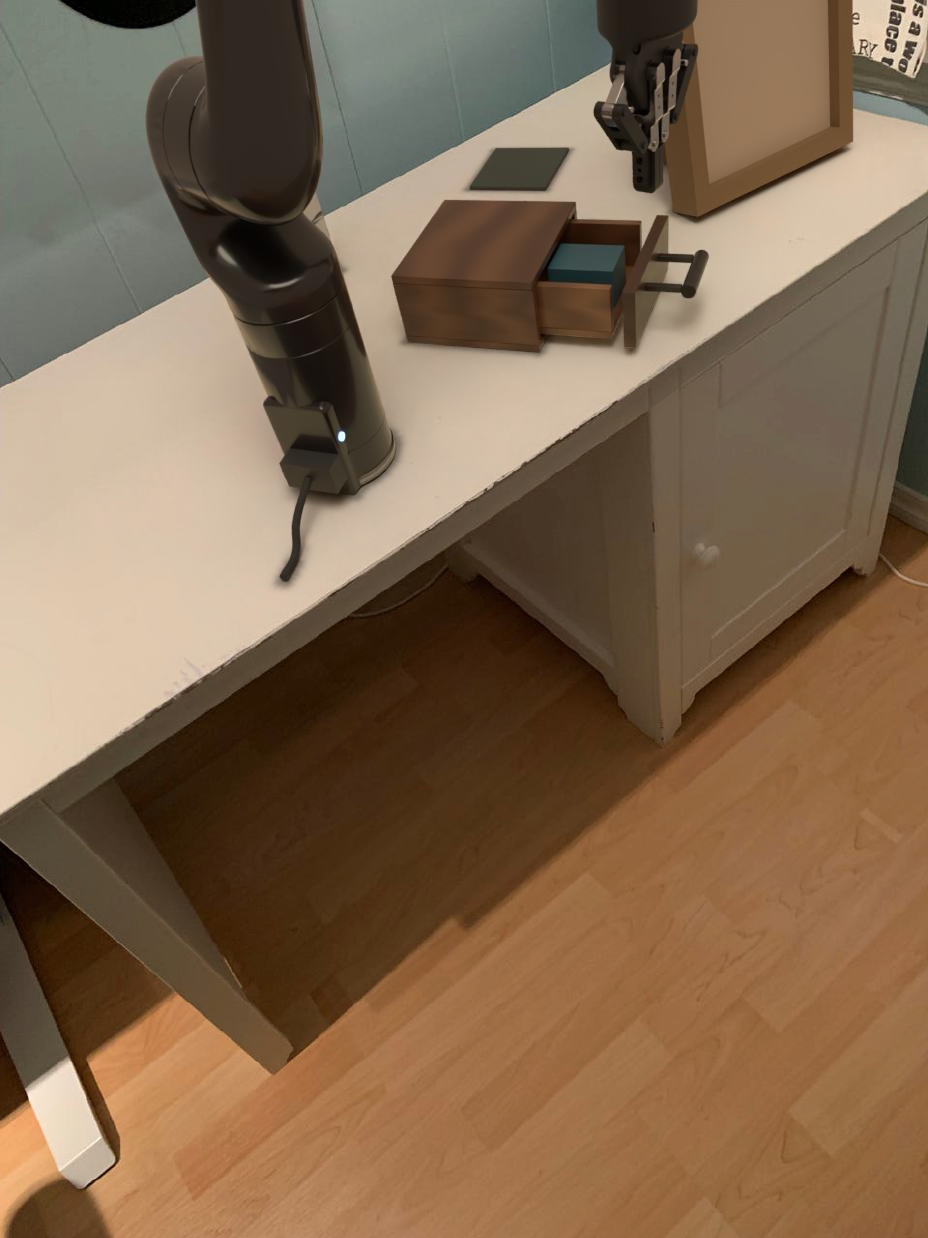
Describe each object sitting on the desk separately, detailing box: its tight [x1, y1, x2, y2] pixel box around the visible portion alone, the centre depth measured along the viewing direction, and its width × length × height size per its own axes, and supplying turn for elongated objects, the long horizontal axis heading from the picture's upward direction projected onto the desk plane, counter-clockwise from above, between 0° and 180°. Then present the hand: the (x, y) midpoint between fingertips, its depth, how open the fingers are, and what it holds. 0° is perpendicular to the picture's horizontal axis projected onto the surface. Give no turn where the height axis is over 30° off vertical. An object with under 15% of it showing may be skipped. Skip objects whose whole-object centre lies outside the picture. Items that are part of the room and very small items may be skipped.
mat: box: [469, 147, 570, 191], centre depth 111 cm, size 10×10×1 cm
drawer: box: [535, 214, 710, 349], centre depth 86 cm, size 18×13×6 cm
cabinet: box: [390, 199, 578, 353], centre depth 90 cm, size 15×15×8 cm
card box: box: [547, 244, 626, 308], centre depth 86 cm, size 4×6×4 cm
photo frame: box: [664, 0, 854, 218], centre depth 93 cm, size 15×22×25 cm
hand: (648, 188), depth 77 cm, fingers closed
